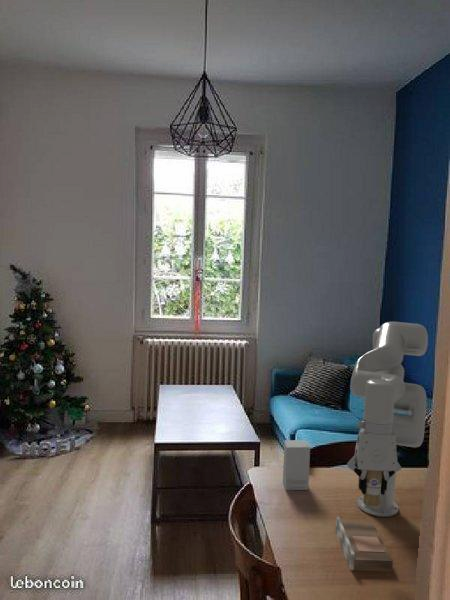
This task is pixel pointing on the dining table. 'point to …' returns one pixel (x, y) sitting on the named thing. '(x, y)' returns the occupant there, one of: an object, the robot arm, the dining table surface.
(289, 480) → the skincare box
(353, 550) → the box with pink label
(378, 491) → the sprinkles bottle
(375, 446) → the robot arm
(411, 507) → the dining table surface
